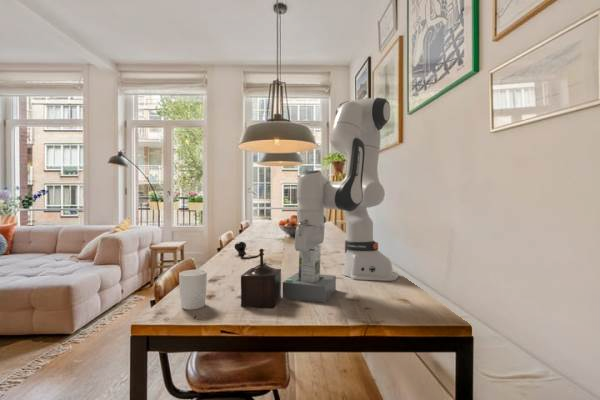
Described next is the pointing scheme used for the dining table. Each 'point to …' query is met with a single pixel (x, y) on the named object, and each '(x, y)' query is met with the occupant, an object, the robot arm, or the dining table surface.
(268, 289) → the manual coffee grinder
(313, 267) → the syrup box
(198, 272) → the white cup
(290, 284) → the port block
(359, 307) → the dining table surface
